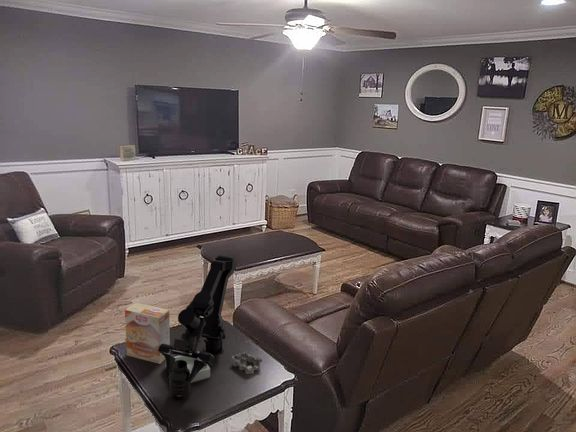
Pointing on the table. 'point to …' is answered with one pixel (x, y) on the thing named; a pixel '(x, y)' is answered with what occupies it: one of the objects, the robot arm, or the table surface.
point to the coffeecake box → (146, 331)
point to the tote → (200, 375)
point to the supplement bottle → (179, 381)
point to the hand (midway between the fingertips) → (177, 380)
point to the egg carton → (244, 358)
